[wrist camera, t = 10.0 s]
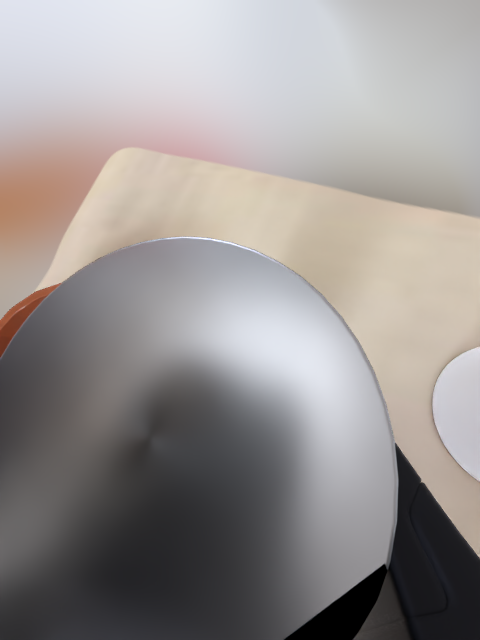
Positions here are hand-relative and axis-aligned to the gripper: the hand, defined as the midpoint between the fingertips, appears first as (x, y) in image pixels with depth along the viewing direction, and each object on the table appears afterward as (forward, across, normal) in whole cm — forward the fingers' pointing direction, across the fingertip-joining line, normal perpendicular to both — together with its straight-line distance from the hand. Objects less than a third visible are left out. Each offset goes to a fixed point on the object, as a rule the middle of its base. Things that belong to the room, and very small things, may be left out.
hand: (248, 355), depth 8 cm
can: (+3, 0, +5) cm, 6 cm away
